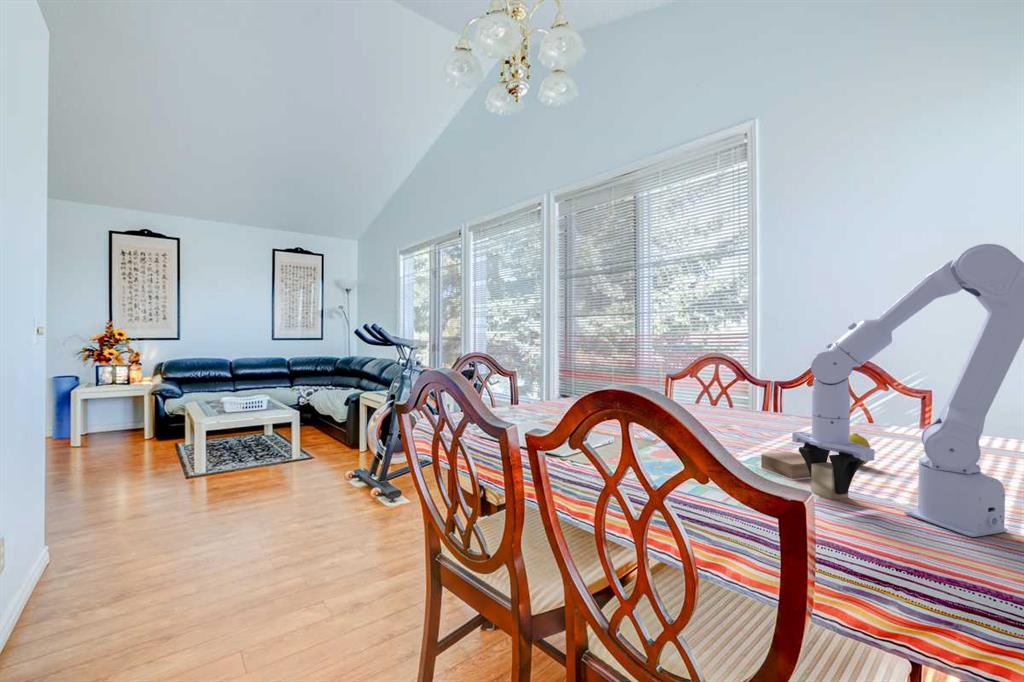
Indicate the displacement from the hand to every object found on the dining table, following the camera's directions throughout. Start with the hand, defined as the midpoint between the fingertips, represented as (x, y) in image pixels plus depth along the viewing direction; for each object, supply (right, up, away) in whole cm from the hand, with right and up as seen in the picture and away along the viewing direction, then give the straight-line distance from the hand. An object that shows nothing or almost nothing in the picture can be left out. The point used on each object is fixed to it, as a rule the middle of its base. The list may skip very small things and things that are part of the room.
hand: (829, 489), depth 83 cm
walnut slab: (+2, -1, +14) cm, 14 cm away
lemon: (+19, -2, +18) cm, 26 cm away
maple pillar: (0, -2, 0) cm, 2 cm away
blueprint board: (+3, -1, +13) cm, 14 cm away
